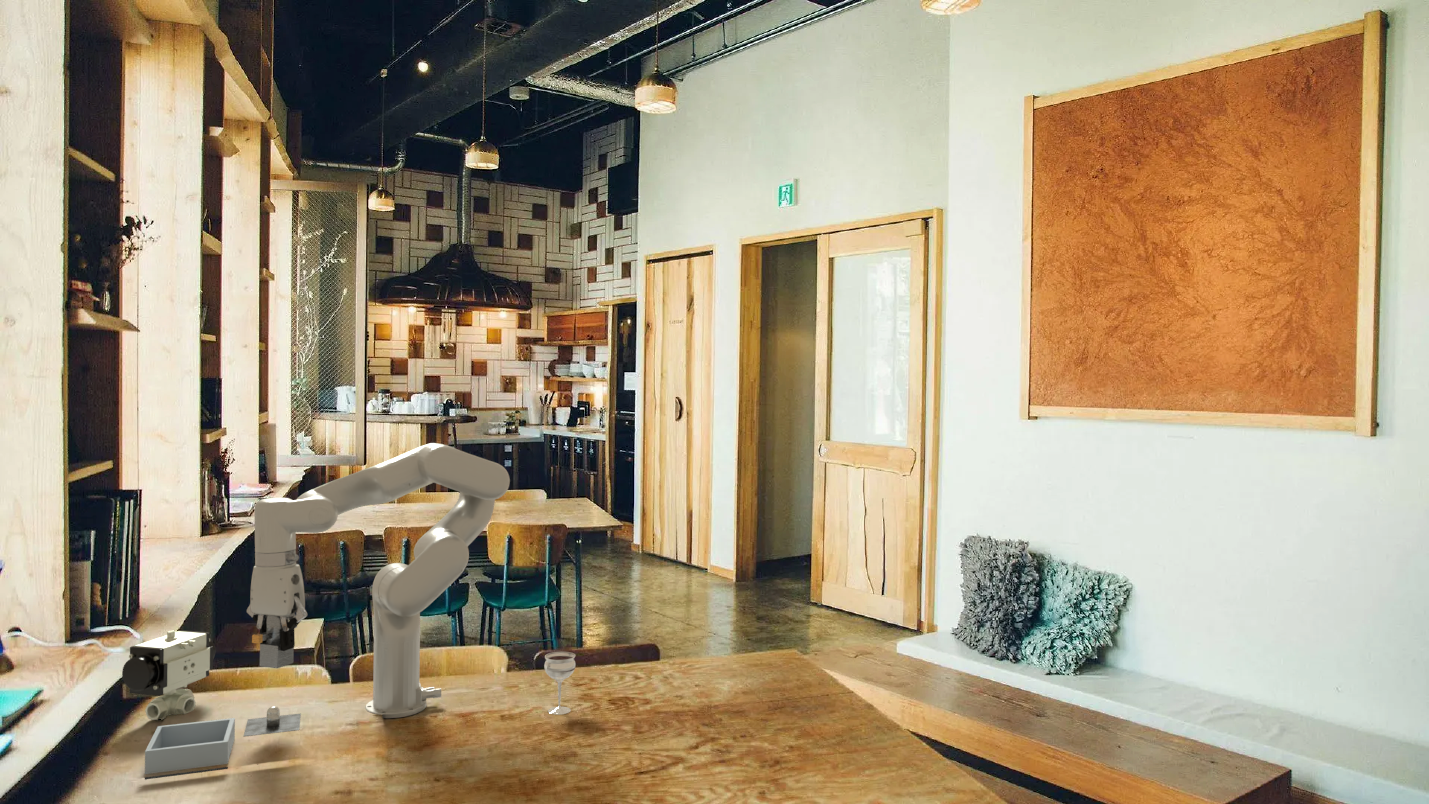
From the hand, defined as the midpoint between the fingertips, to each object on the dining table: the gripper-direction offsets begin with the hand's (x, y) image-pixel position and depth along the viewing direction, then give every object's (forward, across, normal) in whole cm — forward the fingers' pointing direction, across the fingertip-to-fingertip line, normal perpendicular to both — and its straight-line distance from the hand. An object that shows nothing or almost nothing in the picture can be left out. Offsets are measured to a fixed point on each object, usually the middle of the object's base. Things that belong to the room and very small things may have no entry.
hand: (277, 647), depth 186 cm
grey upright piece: (+3, 0, +2) cm, 4 cm away
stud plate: (+17, +1, +1) cm, 17 cm away
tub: (+16, +3, +18) cm, 25 cm away
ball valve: (+16, +26, +1) cm, 31 cm away
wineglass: (+18, -49, -29) cm, 60 cm away
